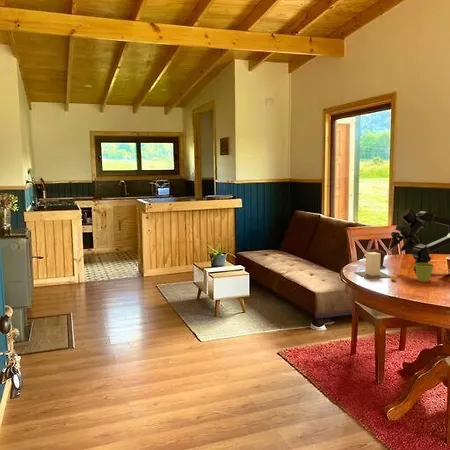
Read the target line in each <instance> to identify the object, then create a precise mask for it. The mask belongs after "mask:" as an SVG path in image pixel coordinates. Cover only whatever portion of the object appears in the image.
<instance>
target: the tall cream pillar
mask: <svg viewBox="0 0 450 450" xmlns="http://www.w3.org/2000/svg"><path fill="white" fill-rule="evenodd" d="M367 252H368V251H367ZM367 252H365V268H364V272H365V274H368V275H370V276H375V275H380V271H381V267H380V257H381V254H380V253H376V252H368V253H367Z"/></svg>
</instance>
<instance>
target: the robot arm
mask: <svg viewBox="0 0 450 450" xmlns="http://www.w3.org/2000/svg"><path fill="white" fill-rule="evenodd" d="M400 218H401V219H402V220H403V221H404V222H405V223H406V224H404V225H403V224H397V225H396V227H395V229H394V230H395V231H392V232H391V234H390V236H391V237H392V241H391V244H390V249H393V248H395V247H396V246H398V245H399V244H400V243H401V242H402V241H403V240H405V243H404V244H403V245H402V246H401V248H400V251H401V252H404V251H406V250H408V249H410V248H411V255H412V256H413V259H414V261H415V262H414V264H415V263H429V262H430V261H431V260H432V257H431V256H430V255H431V253H432V252H435V251H436V250H439V249H441V248H443V247H445V246H448V245H450V218H446V217H441V216H438V215H435V214H433V213H431V212H430V211H429V212H428V211H422V210H421V211H418V212H417V213H415V212H414V211H413V210H412V209H411V208H408V209H406V210H404V211H403V212H401V213H400ZM423 222H424V223H423ZM425 223H434V224H435V223H436V224H440V225H445V226H447V227H448V229H447V230H448V234H447V235H446V236H444V237H441V238H439V239H437V240H435V241H433V242H430V243H428V244H423V243H421V242H420V239H419V238H418V237H417V236H418V232H419V231H420V229H426V224H425ZM408 224H409V225H408ZM413 266H414V268H413V271H416V268H415V265H413Z"/></svg>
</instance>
